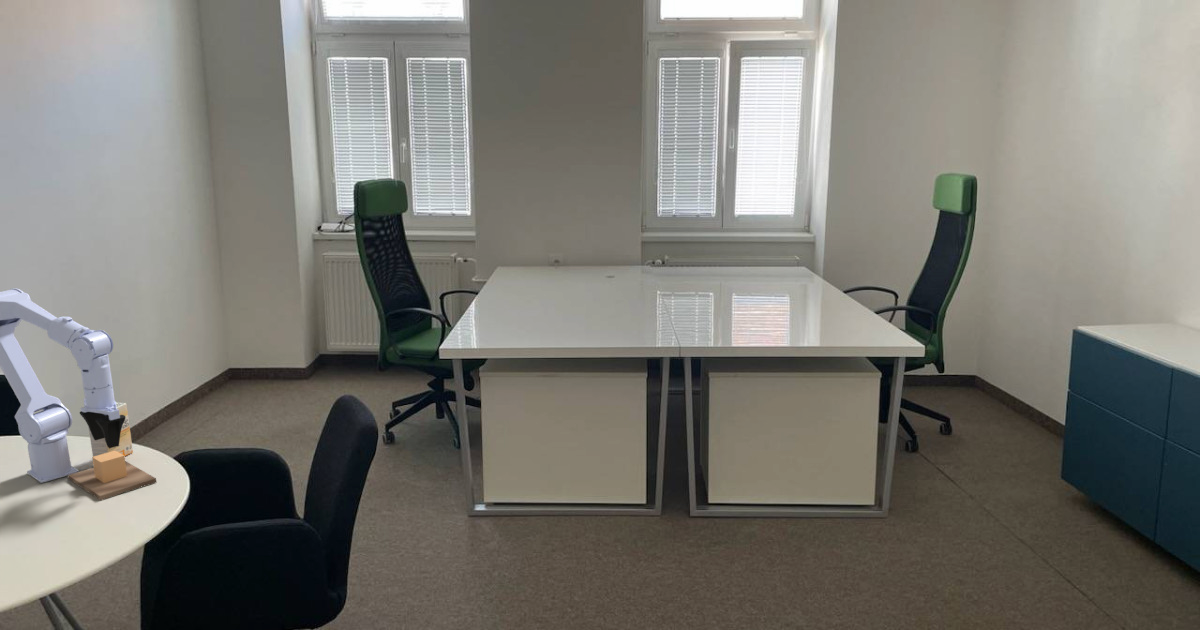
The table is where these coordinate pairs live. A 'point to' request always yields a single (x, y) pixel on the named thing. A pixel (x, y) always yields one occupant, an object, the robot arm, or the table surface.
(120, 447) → the supplement box
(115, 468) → the orange cube
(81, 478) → the walnut board
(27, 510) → the table surface
